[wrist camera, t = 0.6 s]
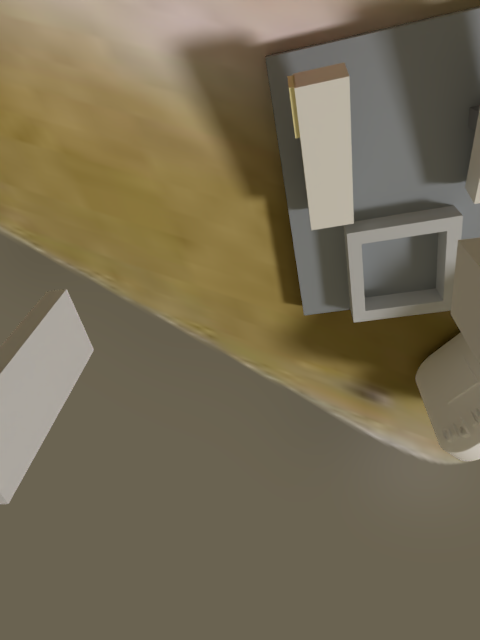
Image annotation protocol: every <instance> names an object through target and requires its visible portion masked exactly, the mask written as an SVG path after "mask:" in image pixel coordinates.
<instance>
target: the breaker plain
mask: <svg viewBox="0 0 480 640" xmlns="http://www.w3.org/2000/svg"><path fill="white" fill-rule="evenodd" d="M465 189H466V190H467V192H468V194H469V196H470V197H471V199H472V201H473V203H474V204H478V203H480V109H479V115H478V120H477V125H476V131H475V136H474V141H473V147H472V152H471V158H470V163H469V168H468V174H467V179H466V185H465Z"/></svg>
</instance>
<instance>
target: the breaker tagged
mask: <svg viewBox="0 0 480 640" xmlns="http://www.w3.org/2000/svg"><path fill="white" fill-rule="evenodd" d="M287 78H288V86H289V94H290V101H291V109H292V117H293V125H294V132H295V138H300V143H301V151H302V159H303V168H304V176H305V184H306V193H307V201H308V209H309V217H310V224H311V230H317V229H323V228H329V227H336V226H342V225H348V224H354V210H353V177H352V144H351V111H350V77H349V74H348V71H347V68H346V65H345V63H339V64H335V65H330V66H326V67H321V68H317V69H312V70H308V71H303V72H299V73H294V74H292V76H287Z"/></svg>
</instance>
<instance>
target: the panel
mask: <svg viewBox="0 0 480 640" xmlns="http://www.w3.org/2000/svg"><path fill="white" fill-rule="evenodd" d="M339 63H345V65H346V68H347V71H348V74H349V77H350V111H351V144H352V177H353V210H354V224H348V225H342V226H336V227H329V228H323V229H317V230H311V224H310V217H309V209H308V201H307V193H306V184H305V176H304V168H303V159H302V151H301V143H300V138H295V132H294V125H293V117H292V109H291V101H290V94H289V86H288V78H287V76H292V74H294V73H299V72H303V71H308V70H312V69H317V68H321V67H326V66H330V65H335V64H339ZM266 65H267V71H268V78H269V85H270V91H271V98H272V105H273V111H274V118H275V125H276V131H277V138H278V145H279V151H280V158H281V165H282V171H283V178H284V185H285V191H286V198H287V204H288V211H289V218H290V224H291V231H292V238H293V244H294V251H295V258H296V264H297V271H298V278H299V284H300V291H301V298H302V304H303V311H304V315H311V314H319V313H327V312H335V311H342V310H351V314H352V318H353V322H354V323H355V322H363V321H371V320H379V319H387V318H395V317H403V316H411V315H419V314H427V313H435V312H443V311H451V304H452V294H453V284H454V275H455V265H456V255H457V245H458V240H463V239H471V238H479V237H480V203H478V204H474V203H473V201H472V199H471V197H470V196H469V194H468V192H467V190H466V189H465V185H466V179H467V174H468V168H469V163H470V158H471V152H472V147H473V141H474V136H475V131H476V125H477V120H478V115H479V109H480V6H479V7H475V8H470V9H466V10H462V11H458V12H453V13H449V14H445V15H440V16H436V17H432V18H427V19H423V20H419V21H414V22H410V23H406V24H402V25H397V26H393V27H389V28H384V29H380V30H376V31H371V32H367V33H363V34H359V35H354V36H350V37H346V38H341V39H337V40H333V41H328V42H324V43H320V44H315V45H311V46H307V47H303V48H298V49H294V50H290V51H285V52H281V53H277V54H272V55H268V56H266Z"/></svg>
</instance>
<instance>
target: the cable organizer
mask: <svg viewBox="0 0 480 640" xmlns="http://www.w3.org/2000/svg"><path fill="white" fill-rule="evenodd" d="M415 380H416V384H417V386H418V389H419V392H420V394H421V397H422V400H423V402H424V405H425V408H426V410H427V413H428V416H429V418H430V421H431V424H432V426H433V429H434V431H435V434H436V437H437V439H438V442H439V445H440V447H441V448H442V449H443V450H445V451H446V452H448V453H449V454H451V455H452V456H454V457H455V458H457V459H459V460H462V461H474V460H478V459H480V364H479V362H478V361H477V359H476V357H475V356H474V354H473V352H472V350H471V349H470V347H469V345H468V343H467V342H466V340H465V338H464V337H463V335H462V333H461V332H460V333H459V334H458V335H456V336H455V337H454V338H452V339H451V340H450V341H448V342H447V343H446V344H444V345H443V346H442V347H440V348H439V349H438V350H436V351H435V352H434V353H432V354H431V355H430V356H429V357H427V358H426V359H425V360H424V362H423V363H422V364H421V365H420V367H419V369H418V371H417V373H416V377H415Z"/></svg>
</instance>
